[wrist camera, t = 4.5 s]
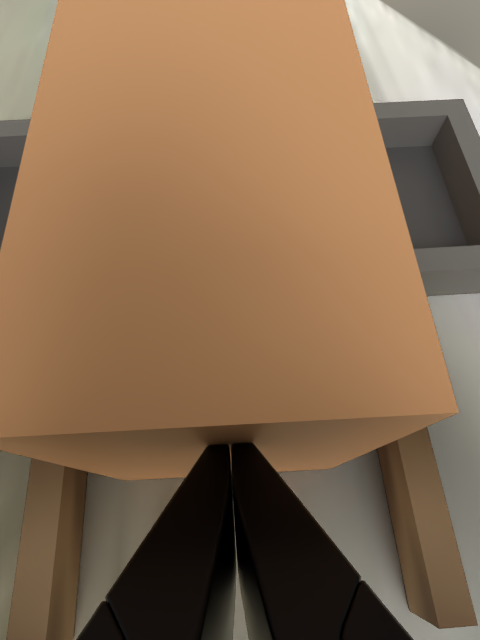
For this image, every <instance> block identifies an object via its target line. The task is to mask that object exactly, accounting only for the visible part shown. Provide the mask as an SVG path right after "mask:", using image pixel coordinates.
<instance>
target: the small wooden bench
mask: <svg viewBox="0 0 480 640" xmlns="http://www.w3.org/2000/svg"><path fill="white" fill-rule="evenodd" d="M377 450H378V455H379V460H380V465H381V470H382V475H383V480H384V485H385V490H386V495H387V500H388V505H389V510H390V515H391V520H392V525H393V530H394V535H395V540H396V545H397V550H398V555H399V560H400V565H401V570H402V575H403V580H404V585H405V589H406V594H407V599H408V604H409V609H410V611H411V612H412V613H414V614H416V615H417V616H419V617H421V618H422V619H424V620H426V621H427V622H429V623H431V624H432V625H434V626H436V627H437V628H439V629H442V628H454V627H466V626H478V624H477V620H476V617H475V613H474V609H473V605H472V601H471V597H470V593H469V589H468V585H467V581H466V577H465V574H464V570H463V566H462V562H461V558H460V554H459V550H458V546H457V542H456V538H455V534H454V530H453V527H452V523H451V519H450V515H449V511H448V507H447V503H446V499H445V495H444V491H443V487H442V484H441V480H440V476H439V472H438V468H437V464H436V460H435V456H434V452H433V448H432V444H431V441H430V437H429V433H428V429H427V427H425V428H423V429H421V430H418V431H416V432H414V433H411V434H409V435H407V436H405V437H402V438H400V439H398V440H395V441H393V442H391V443H389V444H386V445H384V446H382V447H379V448H377ZM86 483H87V471H83V470H79V469H75V468H71V467H67V466H62V465H58V464H54V463H50V462H46V461H42V460H38V459H33V458H32V459H31V467H30V474H29V481H28V488H27V495H26V502H25V509H24V517H23V524H22V531H21V538H20V545H19V552H18V560H17V567H16V574H15V581H14V588H13V595H12V602H11V610H10V617H9V624H8V631H7V638H6V640H72V639H73V637H74V625H75V613H76V601H77V590H78V578H79V566H80V554H81V542H82V530H83V518H84V506H85V495H86Z"/></svg>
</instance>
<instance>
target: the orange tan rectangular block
mask: <svg viewBox="0 0 480 640" xmlns="http://www.w3.org/2000/svg"><path fill="white" fill-rule="evenodd" d="M457 413H459V411H458V407H457V404H456V400H455V396H454V393H453V389H452V386H451V382H450V378H449V375H448V371H447V368H446V364H445V361H444V357H443V353H442V350H441V346H440V343H439V339H438V335H437V332H436V328H435V325H434V321H433V317H432V314H431V310H430V307H429V303H428V299H427V296H426V292H425V289H424V285H423V281H422V278H421V274H420V271H419V267H418V263H417V260H416V256H415V253H414V249H413V245H412V242H411V238H410V235H409V231H408V227H407V224H406V220H405V217H404V213H403V210H402V206H401V202H400V199H399V195H398V192H397V188H396V184H395V181H394V177H393V174H392V170H391V166H390V163H389V159H388V156H387V152H386V148H385V145H384V141H383V138H382V134H381V130H380V127H379V123H378V120H377V116H376V112H375V109H374V105H373V102H372V98H371V94H370V91H369V87H368V84H367V80H366V76H365V73H364V69H363V66H362V62H361V59H360V55H359V51H358V48H357V44H356V41H355V37H354V33H353V30H352V26H351V23H350V19H349V15H348V12H347V8H346V5H345V1H344V0H58V4H57V8H56V12H55V17H54V21H53V25H52V30H51V34H50V38H49V43H48V47H47V51H46V56H45V60H44V64H43V69H42V73H41V77H40V82H39V86H38V90H37V94H36V99H35V103H34V107H33V112H32V116H31V120H30V125H29V129H28V133H27V138H26V142H25V146H24V151H23V155H22V159H21V164H20V168H19V172H18V177H17V181H16V185H15V190H14V194H13V198H12V203H11V207H10V211H9V216H8V220H7V224H6V228H5V233H4V237H3V241H2V246H1V250H0V451H5V452H9V453H13V454H17V455H21V456H25V457H29V458H33V459H38V460H42V461H46V462H50V463H54V464H58V465H62V466H67V467H71V468H75V469H79V470H83V471H87V472H91V473H95V474H100V475H104V476H108V477H112V478H116V479H120V480H124V481H126V480H144V479H161V478H179V477H186V476H187V475H188V473H189V472H190V470H191V469H192V467H193V466H194V464H195V463H196V461H197V460H198V458H199V457H200V455H201V454H202V452H203V451H204V449H205V448H206V447H207V446H208V445H216V444H228V445H229V447H230V457H231V445H232V444H234V443H249V442H252V443H254V444H255V445H256V447H257V448H258V449H259V450H260V452H261V453H262V454H263V455H264V457H265V458H266V459H267V460H268V462H269V463H270V464H271V465H272V467H273V468H274V469H275V470H276V472H284V471H302V470H319V469H331V468H334V467H336V466H338V465H341V464H343V463H345V462H347V461H350V460H352V459H354V458H357V457H359V456H361V455H363V454H366V453H368V452H370V451H373V450H375V449H377V448H379V447H382V446H384V445H386V444H389V443H391V442H393V441H395V440H398V439H400V438H402V437H405V436H407V435H409V434H411V433H414V432H416V431H418V430H421V429H423V428H425V427H427V426H430V425H432V424H434V423H436V422H439V421H441V420H443V419H446V418H448V417H450V416H452V415H455V414H457ZM231 472H232V468H231Z"/></svg>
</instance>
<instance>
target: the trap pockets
mask: <svg viewBox="0 0 480 640" xmlns="http://www.w3.org/2000/svg"><path fill="white" fill-rule="evenodd" d="M373 105H374V109H375V112H376V116H377V120H378V123H379V127H380V130H381V134H382V138H383V141H384V145H385V148H386V152H387V156H388V159H389V163H390V166H391V170H392V174H393V177H394V181H395V184H396V188H397V192H398V195H399V199H400V202H401V206H402V210H403V213H404V217H405V220H406V224H407V227H408V231H409V235H410V238H411V242H412V245H413V249H414V253H415V256H416V260H417V263H418V267H419V271H420V274H421V278H422V281H423V285H424V289H425V292H426V296H435V295H451V294H468V293H480V137H479V135H478V132H477V130H476V128H475V125H474V123H473V121H472V119H471V116H470V114H469V112H468V109H467V107H466V105H465V103H464V100H463V99H452V100H431V101H410V102H388V103H373ZM30 120H31V119H28V120H6V121H0V250H1V246H2V241H3V237H4V233H5V228H6V224H7V220H8V216H9V211H10V207H11V203H12V198H13V194H14V190H15V185H16V181H17V177H18V172H19V168H20V164H21V159H22V155H23V151H24V146H25V142H26V138H27V133H28V129H29V125H30Z"/></svg>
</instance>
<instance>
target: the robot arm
mask: <svg viewBox="0 0 480 640" xmlns="http://www.w3.org/2000/svg"><path fill="white" fill-rule="evenodd" d="M231 468H232V472H231ZM233 505H234V507H233ZM234 519H235V528H234ZM235 534H236V548H237V562H238V575H239V582H240V589H241V595H242V601H243V607H244V613H245V619H246V625H247V631H248V637H249V640H414V639H413V638H412V637H411V636H410V635H409V634H408V632H407V631H406V630H405V629H404V628H403V626H402V625H401V624H400V623H399V622H398V621H397V619H396V618H395V617H394V616H393V615H392V614H391V612H390V611H389V610H388V609H387V608H386V607H385V605H384V604H383V603H382V602H381V600H380V599H379V598H378V597H377V595H376V594H375V593H374V592H373V590H372V589H371V588H370V587H369V585H368V584H367V583H366V582H365V581H361V576H360V575H359V573H358V572H357V571H356V570H355V568H354V567H353V566H352V565H351V563H350V562H349V561H348V560H347V558H346V557H345V556H344V555H343V553H342V552H341V551H340V550H339V549H338V547H337V546H336V545H335V544H334V542H333V541H332V540H331V539H330V537H329V536H328V535H327V534H326V532H325V531H324V530H323V529H322V527H321V526H320V525H319V524H318V522H317V521H316V520H315V519H314V517H313V516H312V515H311V514H310V512H309V511H308V510H307V509H306V508H305V506H304V505H303V504H302V503H301V501H300V500H299V499H298V498H297V496H296V495H295V494H294V493H293V491H292V490H291V489H290V488H289V486H288V485H287V484H286V483H285V481H284V480H283V479H282V478H281V476H280V475H279V474H278V473H277V472H276V470H275V469H274V468H273V467H272V465H271V464H270V463H269V462H268V460H267V459H266V458H265V457H264V455H263V454H262V453H261V452H260V450H259V449H258V448H257V447H256V445H255V444H254V443H252V442H249V443H234V444H232V445H231V457H230V447H229V445H228V444H216V445H208V446H207V447H206V448H205V449H204V451H203V452H202V454H201V455H200V457H199V458H198V460H197V461H196V463H195V464H194V466H193V467H192V469H191V470H190V472H189V473H188V475H187V476H186V478H185V479H184V481H183V482H182V484H181V485H180V487H179V488H178V490H177V491H176V493H175V494H174V496H173V497H172V499H171V500H170V502H169V503H168V505H167V506H166V508H165V509H164V511H163V512H162V513H161V515H160V516H159V518H158V519H157V521H156V522H155V524H154V525H153V527H152V528H151V530H150V531H149V533H148V534H147V536H146V537H145V539H144V540H143V542H142V543H141V545H140V546H139V548H138V549H137V551H136V552H135V554H134V555H133V557H132V558H131V560H130V561H129V563H128V564H127V566H126V567H125V569H124V570H123V572H122V573H121V575H120V576H119V578H118V579H117V581H116V582H115V583H114V585H113V586H112V588H111V589H110V591H109V592H108V594H107V595H106V598H105V599H106V601H103V602H101V604H100V605H99V607H98V608H97V610H96V611H95V613H94V614H93V616H92V617H91V619H90V620H89V622H88V623H87V625H86V626H85V628H84V629H83V631H82V632H81V633H80V635H79V636H78V638H77V639H76V640H233V625H234V609H235V594H236V548H235Z"/></svg>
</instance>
